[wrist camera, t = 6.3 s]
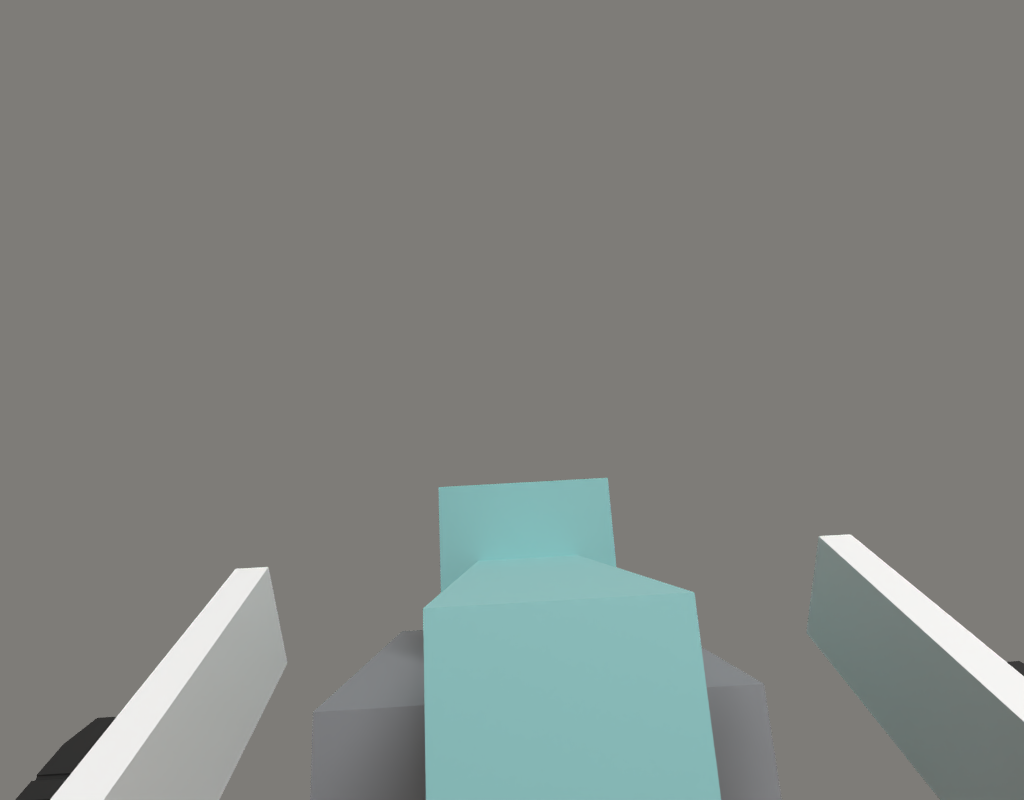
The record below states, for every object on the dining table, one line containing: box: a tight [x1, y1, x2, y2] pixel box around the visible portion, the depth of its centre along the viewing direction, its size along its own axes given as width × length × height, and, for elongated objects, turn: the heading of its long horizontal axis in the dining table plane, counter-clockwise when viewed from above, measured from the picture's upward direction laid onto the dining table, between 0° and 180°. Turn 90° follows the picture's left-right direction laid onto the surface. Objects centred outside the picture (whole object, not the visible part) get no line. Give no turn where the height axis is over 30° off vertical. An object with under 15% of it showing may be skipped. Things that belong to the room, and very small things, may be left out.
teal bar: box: [423, 478, 721, 800], centre depth 18 cm, size 21×7×7 cm, turn 0°
